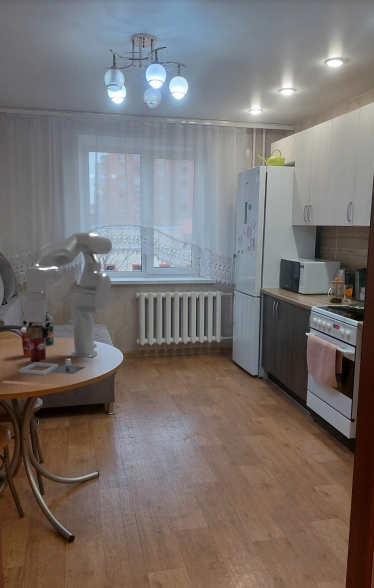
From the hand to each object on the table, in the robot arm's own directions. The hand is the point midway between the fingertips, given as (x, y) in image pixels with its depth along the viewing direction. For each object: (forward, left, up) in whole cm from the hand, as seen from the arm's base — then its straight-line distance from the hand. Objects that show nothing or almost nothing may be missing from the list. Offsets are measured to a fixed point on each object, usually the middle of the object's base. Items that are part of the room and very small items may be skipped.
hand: (37, 336), depth 206 cm
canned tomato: (-47, -26, -17) cm, 56 cm away
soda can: (-16, -11, -17) cm, 26 cm away
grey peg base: (-4, +12, -16) cm, 21 cm away
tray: (0, 0, -16) cm, 16 cm away
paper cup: (-24, -21, -17) cm, 36 cm away
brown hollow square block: (0, 0, 0) cm, 0 cm away
